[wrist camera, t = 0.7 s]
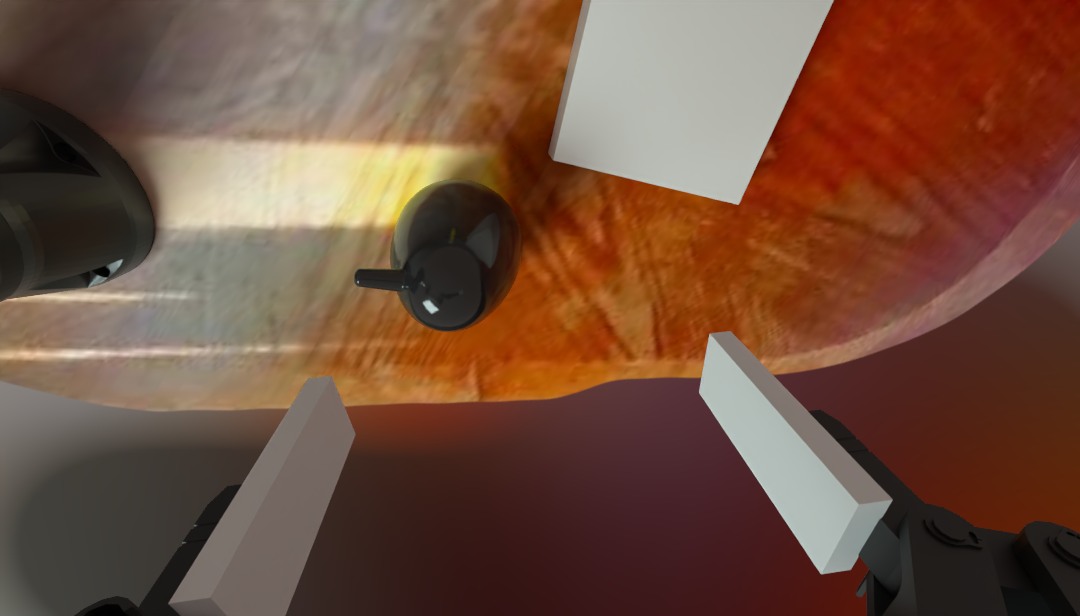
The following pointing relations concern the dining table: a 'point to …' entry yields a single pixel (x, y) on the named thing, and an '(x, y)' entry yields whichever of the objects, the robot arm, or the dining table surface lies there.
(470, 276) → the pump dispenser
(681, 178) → the ceramic base
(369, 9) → the dining table surface
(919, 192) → the dining table surface
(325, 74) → the dining table surface
